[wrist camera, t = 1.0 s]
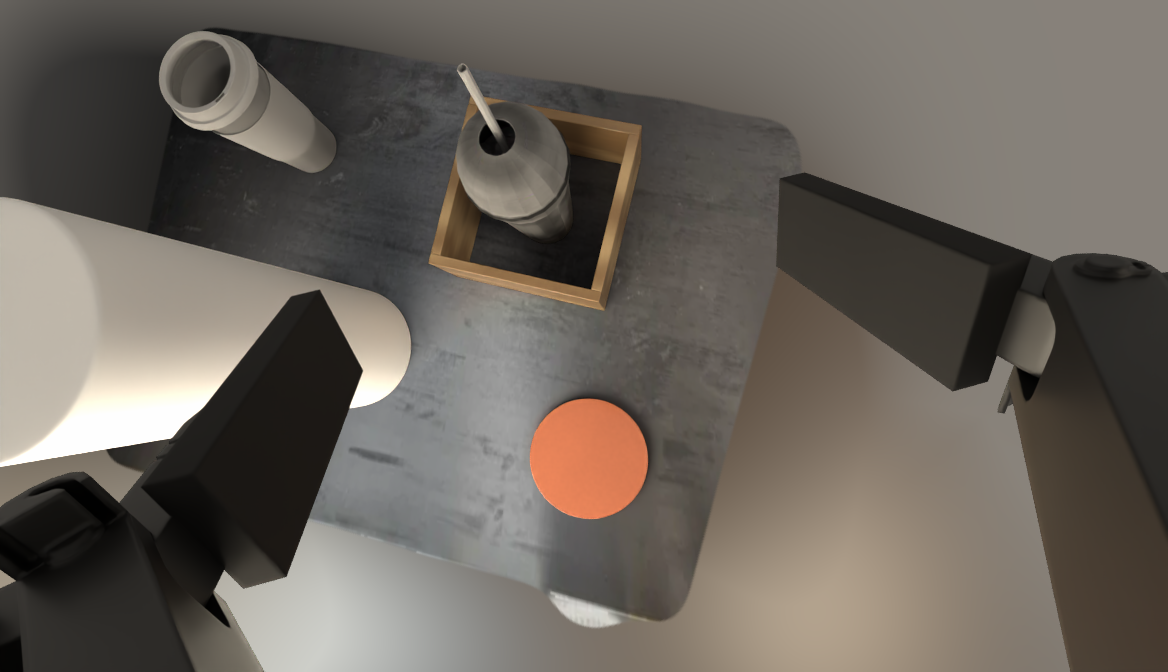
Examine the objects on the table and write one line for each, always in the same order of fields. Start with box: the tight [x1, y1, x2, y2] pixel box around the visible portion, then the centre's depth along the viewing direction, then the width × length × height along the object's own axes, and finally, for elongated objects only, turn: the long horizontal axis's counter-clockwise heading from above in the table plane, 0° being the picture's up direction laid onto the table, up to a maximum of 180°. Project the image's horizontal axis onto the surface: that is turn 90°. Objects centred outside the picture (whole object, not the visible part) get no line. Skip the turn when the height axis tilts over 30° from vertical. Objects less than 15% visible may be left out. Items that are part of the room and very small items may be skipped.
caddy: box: [429, 96, 642, 311], centre depth 39 cm, size 14×14×6 cm
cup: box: [159, 31, 337, 173], centre depth 39 cm, size 7×7×12 cm
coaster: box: [530, 398, 648, 519], centre depth 40 cm, size 10×10×1 cm
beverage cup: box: [456, 64, 573, 244], centre depth 32 cm, size 7×7×20 cm
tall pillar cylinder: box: [0, 197, 411, 466], centre depth 31 cm, size 11×11×25 cm
